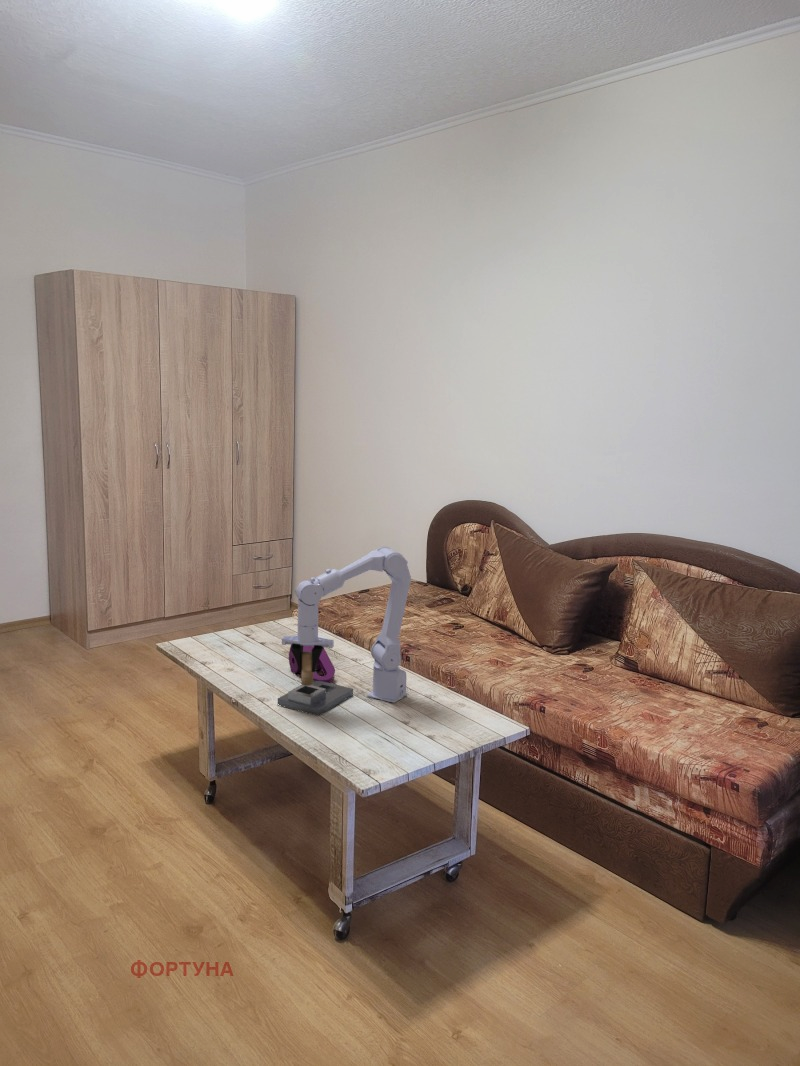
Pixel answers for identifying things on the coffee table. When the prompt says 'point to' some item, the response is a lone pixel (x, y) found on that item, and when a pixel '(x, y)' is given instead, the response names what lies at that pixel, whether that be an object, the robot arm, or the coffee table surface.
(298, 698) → the mount plate
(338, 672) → the coffee table surface
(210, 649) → the coffee table surface
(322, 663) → the mounting bracket
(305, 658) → the pin
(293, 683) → the coffee table surface
